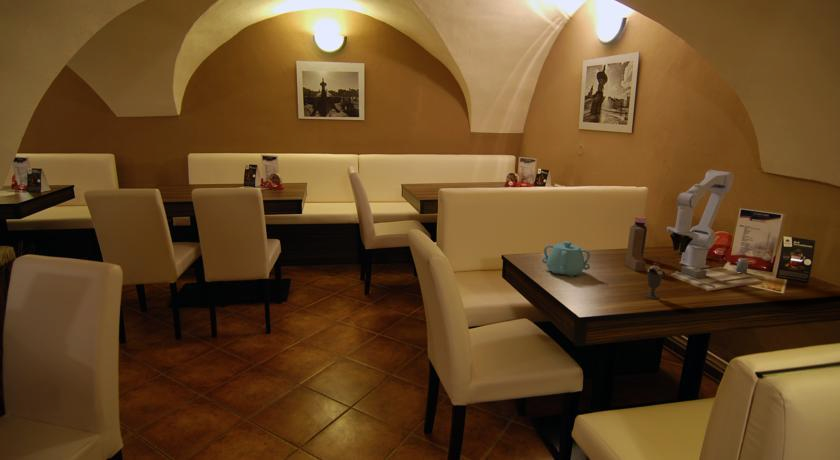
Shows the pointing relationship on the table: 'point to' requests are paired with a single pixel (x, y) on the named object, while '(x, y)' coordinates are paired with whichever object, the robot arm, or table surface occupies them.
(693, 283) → the board
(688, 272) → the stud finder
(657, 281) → the sundae
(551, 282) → the table surface
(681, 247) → the robot arm
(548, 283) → the table surface
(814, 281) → the table surface
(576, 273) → the decorative pot
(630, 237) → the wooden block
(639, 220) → the bottle
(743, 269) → the marker peg
